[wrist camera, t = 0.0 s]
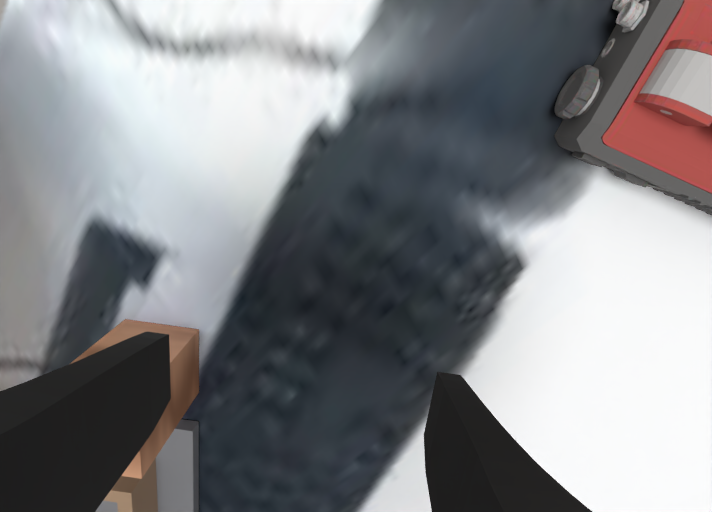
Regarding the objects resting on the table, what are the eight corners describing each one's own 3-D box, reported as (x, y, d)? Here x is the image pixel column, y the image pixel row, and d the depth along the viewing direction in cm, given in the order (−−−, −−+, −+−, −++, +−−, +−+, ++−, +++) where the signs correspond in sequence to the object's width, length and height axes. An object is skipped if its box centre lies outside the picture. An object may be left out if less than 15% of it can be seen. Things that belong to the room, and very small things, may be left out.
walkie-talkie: (939, 62, 17) (487, -165, 16) (1117, 46, 13) (524, -265, 12) (783, 253, 20) (389, 75, 18) (888, 291, 16) (390, 64, 14)
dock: (198, 566, 29) (176, 622, 25) (24, 540, 29) (-20, 592, 26) (198, 421, 25) (171, 466, 22) (-4, 392, 25) (-60, 432, 22)
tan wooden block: (199, 391, 24) (141, 478, 18) (129, 381, 24) (51, 465, 18) (198, 329, 23) (136, 402, 17) (125, 319, 23) (39, 388, 17)
